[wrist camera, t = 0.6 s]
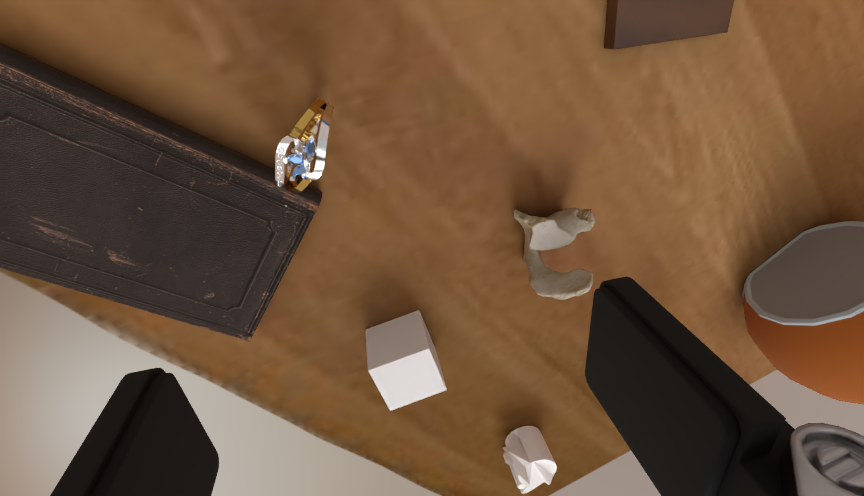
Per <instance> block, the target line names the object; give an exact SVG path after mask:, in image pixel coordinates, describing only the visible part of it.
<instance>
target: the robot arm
mask: <svg viewBox="0 0 864 496" xmlns="http://www.w3.org/2000/svg"><path fill="white" fill-rule="evenodd" d="M585 376H586V380H587V383H588V385H589V387H590V389H591V390H592V392H593V393H594V395H595V396H596V398H597V399H598V401H599V402H600V404H601V405H602V407H603V408H604V410H605V411H606V413H607V414H608V416H609V417H610V419H611V420H612V422H613V423H614V425H615V426H616V428H617V429H618V431H619V432H620V434H621V435H622V437H623V438H624V440H625V442H626V443H627V445H628V446H629V448H630V449H631V451H632V452H633V454H634V455H635V457H636V458H637V460H638V461H639V462H640V464H641V465H642V467H643V469H644V470H645V472H646V473H647V475H648V476H649V478H650V479H651V481H652V482H653V484H654V485H655V487H656V488H657V490H658V491H659V493H660V494H661V496H864V436H861V435H860V434H858V433H856V432H853V431H850V430H847V429H845V428H842V427H839V426H834V425H829V424H824V423H808V424H805V425H802V426H799V427H797V428H796V429H794V428H793V427H792V426H790V425H789V424H788V423H787V422H786V421H785V419H786V418H785V417H784V416H783V415H782V414H781V413H779V412H778V411H777V410H776V409H775V408H774V407H773V406H772V405H771V404H769V403H768V402H767V401H766V400H765V399H764V398H763V397H762V396H761V395H759V393H757V392H756V391H755V390H754V389H753V388H752V387H751V386H750V385H749V384H747V383H746V382H745V381H744V380H743V379H742V378H741V377H740V376H739V375H738V374H736V373H735V372H734V371H733V370H732V369H731V368H730V367H729V366H728V365H727V364H725V363H724V362H723V361H722V360H721V359H720V358H719V357H718V356H717V355H716V354H714V353H713V352H712V351H711V350H710V349H709V348H708V347H707V346H706V345H705V344H703V343H702V342H701V341H700V340H699V339H698V338H697V337H696V336H695V335H694V334H692V333H691V332H690V331H689V330H688V329H687V328H686V327H685V326H684V325H683V324H681V323H680V322H679V321H678V320H677V319H676V318H675V317H674V316H673V315H672V314H670V313H669V312H668V311H667V310H666V309H665V308H664V307H663V306H662V305H660V304H659V303H658V302H657V301H656V300H655V299H654V298H653V297H652V296H651V295H649V294H648V293H647V292H646V291H645V290H644V289H643V288H642V287H641V286H640V285H638V284H637V283H636V282H635V281H634V280H633V279H631V278H630V277H622V278H617V279H612V280H607V281H603V282H602V283H601V285H600V288H599V289H596V290H595V292H594V298H593V307H592V315H591V324H590V333H589V342H588V351H587V359H586V368H585ZM218 467H219V457H218V453H217V451H216V449H215V447H214V446H213V444H212V442H211V440H210V439H209V437H208V435H207V433H206V431H205V430H204V428H203V426H202V424H201V422H200V421H199V419H198V417H197V415H196V414H195V412H194V410H193V408H192V406H191V405H190V403H189V401H188V399H187V397H186V396H185V394H184V392H183V390H182V388H181V387H180V385H179V383H178V381H177V380H176V378H175V377H174V375H173V374H172V373H165V371H164V370H163V369H161V368H154V369H149V370H144V371H139V372H134V373H129V374H127V375H125V376H124V377H123V379H122V380H121V382H120V383H119V385H118V386H117V388H116V390H115V391H114V393H113V395H112V396H111V398H110V399H109V401H108V403H107V405H106V406H105V408H104V409H103V411H102V413H101V414H100V416H99V418H98V419H97V421H96V422H95V424H94V426H93V427H92V429H91V430H90V432H89V434H88V435H87V437H86V439H85V440H84V442H83V443H82V445H81V447H80V448H79V450H78V451H77V453H76V455H75V456H74V458H73V460H72V461H71V463H70V464H69V466H68V468H67V469H66V471H65V473H64V474H63V476H62V478H61V479H60V481H59V482H58V484H57V486H56V487H55V489H54V491H53V492H52V494H51V495H50V496H211V494H212V490H213V486H214V483H215V479H216V476H217V472H218Z"/></svg>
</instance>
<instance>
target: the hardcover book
mask: <svg viewBox="0 0 864 496" xmlns="http://www.w3.org/2000/svg"><path fill="white" fill-rule="evenodd" d="M321 198H322V192H321V191H319V190H316V189H314V188H312V187H310V186H307V187H306V188H305V189H304V190H302V191H301V192H300V193H298V194H293V193H291V192H289V191H287V190H286V185H285V187H284V189H282V188H280V187H278V186H276V185H275V170H273V169H271V168H269V167H267V166H264V165H262V164H260V163H258V162H256V161H254V160H251V159H249V158H247V157H245V156H243V155H240V154H238V153H236V152H234V151H232V150H230V149H227V148H225V147H223V146H221V145H219V144H217V143H214V142H212V141H210V140H208V139H206V138H204V137H201V136H199V135H197V134H195V133H193V132H191V131H188V130H186V129H184V128H182V127H180V126H178V125H175V124H173V123H171V122H169V121H167V120H164V119H162V118H160V117H158V116H156V115H154V114H151V113H149V112H147V111H145V110H143V109H141V108H138V107H136V106H134V105H132V104H130V103H128V102H125V101H123V100H121V99H119V98H117V97H115V96H112V95H110V94H108V93H106V92H104V91H102V90H99V89H97V88H95V87H93V86H91V85H88V84H86V83H84V82H82V81H80V80H78V79H75V78H73V77H71V76H69V75H67V74H65V73H62V72H60V71H58V70H56V69H54V68H52V67H49V66H47V65H45V64H43V63H41V62H39V61H36V60H34V59H32V58H30V57H28V56H26V55H23V54H21V53H19V52H17V51H15V50H13V49H10V48H8V47H6V46H4V45H2V44H0V268H3V269H6V270H9V271H13V272H16V273H20V274H23V275H26V276H30V277H33V278H37V279H40V280H43V281H47V282H50V283H53V284H57V285H60V286H64V287H67V288H70V289H74V290H77V291H81V292H84V293H87V294H91V295H94V296H97V297H101V298H104V299H108V300H111V301H114V302H118V303H121V304H125V305H128V306H131V307H135V308H138V309H141V310H145V311H148V312H152V313H155V314H158V315H162V316H165V317H169V318H172V319H175V320H179V321H182V322H186V323H189V324H192V325H196V326H199V327H202V328H206V329H209V330H213V331H216V332H219V333H223V334H226V335H230V336H233V337H236V338H240V339H243V340H246V341H250V339H251V338H252V336H253V334H254V332H255V330H256V328H257V326H258V324H259V322H260V320H261V318H262V316H263V314H264V312H265V310H266V308H267V306H268V304H269V302H270V300H271V298H272V296H273V294H274V292H275V291H276V289H277V287H278V285H279V283H280V281H281V279H282V277H283V275H284V273H285V271H286V269H287V267H288V265H289V263H290V261H291V259H292V257H293V255H294V253H295V251H296V249H297V247H298V245H299V243H300V242H301V240H302V238H303V236H304V234H305V232H306V230H307V228H308V226H309V224H310V222H311V220H312V218H313V216H314V214H315V212H316V210H317V208H318V206H319V204H320V201H321Z"/></svg>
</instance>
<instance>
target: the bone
mask: <svg viewBox="0 0 864 496" xmlns="http://www.w3.org/2000/svg"><path fill="white" fill-rule="evenodd" d="M514 215H515V216H513V217H514V218H515V219H516V220H517V221H518V222H519V223H520V224H521V225H522V227H523V229H524V231H525V243H524V255H523V260H524V261H525V263H526V264H527V266H528V270H529V272H530V276H529V283H530V285H531V286H532V287H533V289H534V290H535V292H536V293H537V294H539V295H540V296H548V297H554V298H555V299H568V298H570V297H572V296H579V295H582V294H584V293H586V292H588V291H589V290H590V289H591V286H592V283H593V273H592V272H589V271H587V270H584V269H576V270H572V271H570V272H566V273H559V272H556V271H553V270H551V269H550V268H548V267H547V266H546V265H545V264H544V262H543V261H542V259H541V257H540V253H539V250H552V249H557V248H561V247H564V246H567V245H568V244H570V243H571V242H572V241H573V240H574V239H575V238H576V235H577V234H578V233H579V232H582V231H589V230H592V227H593V225H594V223H595V218H594V217H593V214H592V211H591V209H590V210H589V209H584V210H580V209H577V208H568V209H565V210H563V211H558V212H556V213H554V214H552V215H550V216H548V217H546V218H543V217H536V216H529V215H527V214H524V213H522V212H520V211H518V210H515V209H514Z"/></svg>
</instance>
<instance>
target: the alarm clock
mask: <svg viewBox="0 0 864 496" xmlns="http://www.w3.org/2000/svg"><path fill="white" fill-rule="evenodd" d="M742 297H743V304H744V313H745V320H746V324H747V329H748V333H749V335H750V336H751V338H752V339H753V341H754V342H755V344H756V345H757V346H758V348H759V349H760V350H761V351H762V353H763V354H764V355H765V356H766V357H767V359H768V360H769V361H770V362H771V363H772V365H773V366H774V367H775V368H776V369H777V370H779V371H780V372H782V373H783V374H784V375H786V376H787V377H788V378H790V379H791V380H793V381H795V382H797V383H799V384H801V385H803V386H805V387H807V388H810V389H812V390H814V391H816V392H818V393H820V394H822V395H825V396H827V397H830V398H833V399H836V400H839V401H845V402H851V403H858V404H864V222H859V221H845V222H839V223H832V224H826V225H820V226H817V227H814V228H811V229H809V230H806V231H804V232H802V233H801V234H799V235H798V236H797V237H796V238H794V239H793V240H792V241H791V242H789V243H788V244H787V245H785V246H784V247H783V248H782V249H780V250H779V251H778V252H777V253H775V254H774V255H773V256H772V257H770V258H769V259H768V260H767V261H765V262H764V263H763V264H761V265H760V266H759V267H758V268H756V269H755V270H754V271H753V272H751V273H750V274H749V275H748V277H747V278H746V281H745V283H744V289H743V292H742Z"/></svg>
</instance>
